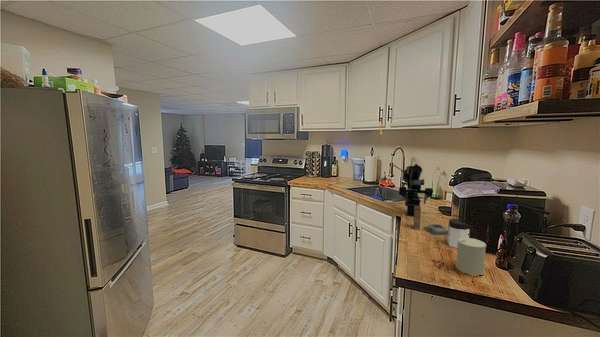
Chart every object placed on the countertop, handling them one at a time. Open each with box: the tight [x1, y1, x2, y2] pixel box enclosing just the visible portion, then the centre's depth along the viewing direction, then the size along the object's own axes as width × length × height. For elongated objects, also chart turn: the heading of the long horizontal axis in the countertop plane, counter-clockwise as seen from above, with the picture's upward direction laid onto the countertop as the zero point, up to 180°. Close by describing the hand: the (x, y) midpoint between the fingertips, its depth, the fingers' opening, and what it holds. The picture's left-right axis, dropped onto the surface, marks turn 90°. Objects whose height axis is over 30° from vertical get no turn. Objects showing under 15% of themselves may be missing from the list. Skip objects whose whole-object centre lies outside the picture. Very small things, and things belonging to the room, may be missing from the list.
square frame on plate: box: [423, 223, 448, 236], centre depth 137 cm, size 10×10×3 cm
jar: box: [447, 218, 470, 249], centre depth 119 cm, size 9×8×12 cm
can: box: [455, 237, 487, 276], centre depth 96 cm, size 9×9×12 cm
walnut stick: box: [413, 205, 422, 231], centre depth 141 cm, size 3×3×13 cm
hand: (416, 203), depth 148 cm, fingers open, 9 cm apart
